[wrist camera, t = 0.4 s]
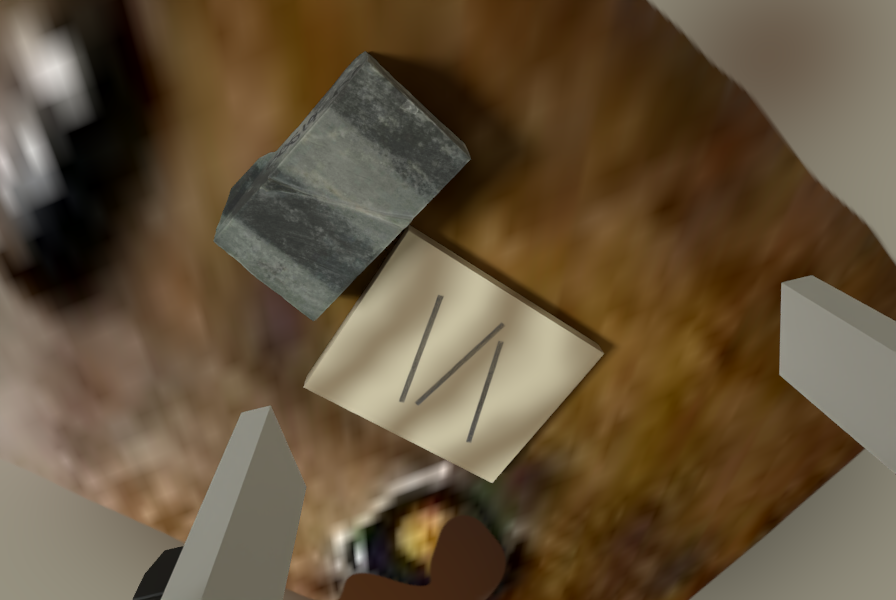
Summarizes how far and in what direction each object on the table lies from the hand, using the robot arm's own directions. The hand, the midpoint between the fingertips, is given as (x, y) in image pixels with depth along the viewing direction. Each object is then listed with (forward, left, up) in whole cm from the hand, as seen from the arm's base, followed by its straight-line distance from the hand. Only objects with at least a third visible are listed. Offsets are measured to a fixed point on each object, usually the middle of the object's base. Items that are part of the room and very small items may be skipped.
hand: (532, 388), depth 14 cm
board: (+7, -11, -25) cm, 28 cm away
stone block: (-7, -4, -25) cm, 27 cm away
